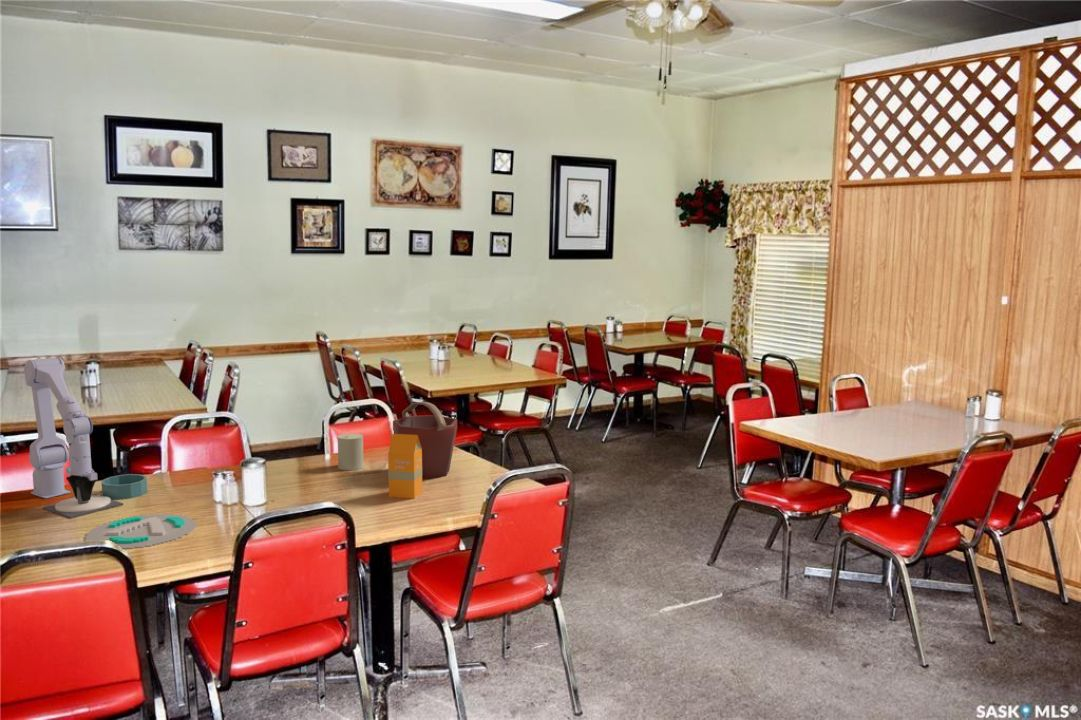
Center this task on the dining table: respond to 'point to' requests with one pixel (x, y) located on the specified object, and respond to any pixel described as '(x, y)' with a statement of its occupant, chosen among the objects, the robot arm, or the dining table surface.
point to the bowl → (124, 486)
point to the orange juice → (405, 466)
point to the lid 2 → (143, 530)
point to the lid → (82, 503)
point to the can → (350, 451)
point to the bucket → (430, 438)
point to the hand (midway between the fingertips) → (83, 499)
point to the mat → (72, 515)
